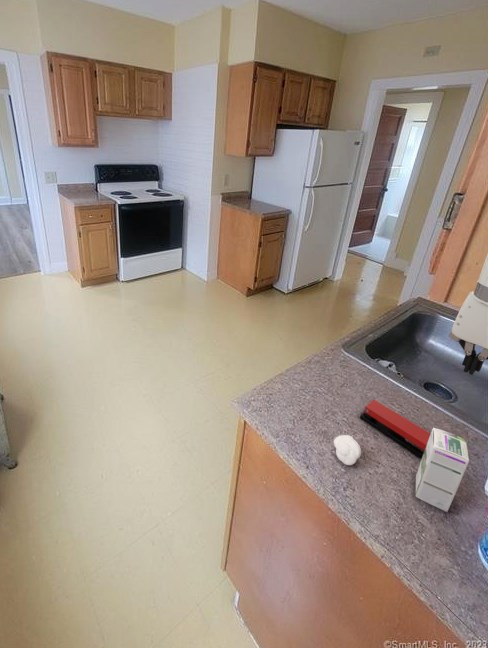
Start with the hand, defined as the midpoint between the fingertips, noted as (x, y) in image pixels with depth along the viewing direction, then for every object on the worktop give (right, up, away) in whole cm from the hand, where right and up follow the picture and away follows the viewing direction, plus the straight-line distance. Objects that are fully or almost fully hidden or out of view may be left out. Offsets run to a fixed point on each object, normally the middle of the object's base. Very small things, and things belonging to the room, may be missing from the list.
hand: (469, 370), depth 70 cm
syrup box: (-10, -25, -2) cm, 27 cm away
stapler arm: (-9, -17, +10) cm, 22 cm away
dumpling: (-25, -22, +6) cm, 33 cm away
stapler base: (-9, -20, +11) cm, 25 cm away
